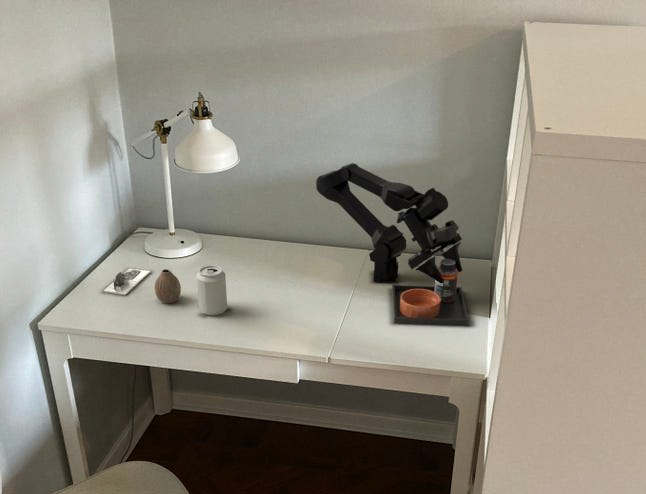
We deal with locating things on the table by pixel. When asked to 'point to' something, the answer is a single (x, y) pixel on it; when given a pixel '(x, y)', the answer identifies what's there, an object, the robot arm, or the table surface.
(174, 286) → the vase
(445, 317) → the tray
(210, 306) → the can
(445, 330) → the table surface
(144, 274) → the rock on white stand
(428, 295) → the bowl
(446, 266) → the supplement bottle
